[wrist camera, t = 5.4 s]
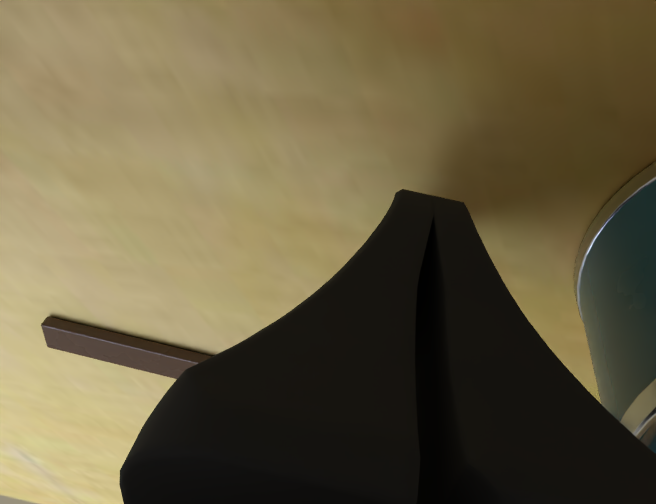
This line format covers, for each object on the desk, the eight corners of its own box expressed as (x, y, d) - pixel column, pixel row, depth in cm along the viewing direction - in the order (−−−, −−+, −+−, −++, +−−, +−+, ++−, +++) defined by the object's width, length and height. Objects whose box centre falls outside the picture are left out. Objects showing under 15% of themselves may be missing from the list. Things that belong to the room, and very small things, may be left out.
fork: (57, 352, 19) (50, 361, 19) (43, 299, 17) (35, 309, 17) (498, 461, 18) (499, 472, 18) (526, 416, 16) (527, 428, 16)
